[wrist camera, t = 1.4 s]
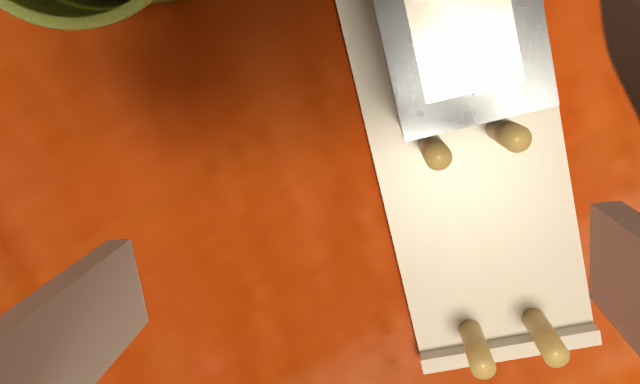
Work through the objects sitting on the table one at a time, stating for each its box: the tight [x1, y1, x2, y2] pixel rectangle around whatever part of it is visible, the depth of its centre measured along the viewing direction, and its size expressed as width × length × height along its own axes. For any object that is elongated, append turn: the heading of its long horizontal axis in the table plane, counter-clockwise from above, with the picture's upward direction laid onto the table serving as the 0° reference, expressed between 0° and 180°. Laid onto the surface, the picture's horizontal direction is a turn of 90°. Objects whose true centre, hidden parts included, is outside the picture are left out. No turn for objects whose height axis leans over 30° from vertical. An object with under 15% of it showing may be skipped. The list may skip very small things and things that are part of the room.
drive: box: [371, 0, 560, 142], centre depth 27 cm, size 9×7×7 cm
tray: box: [335, 0, 602, 379], centre depth 29 cm, size 31×11×6 cm, turn 15°
